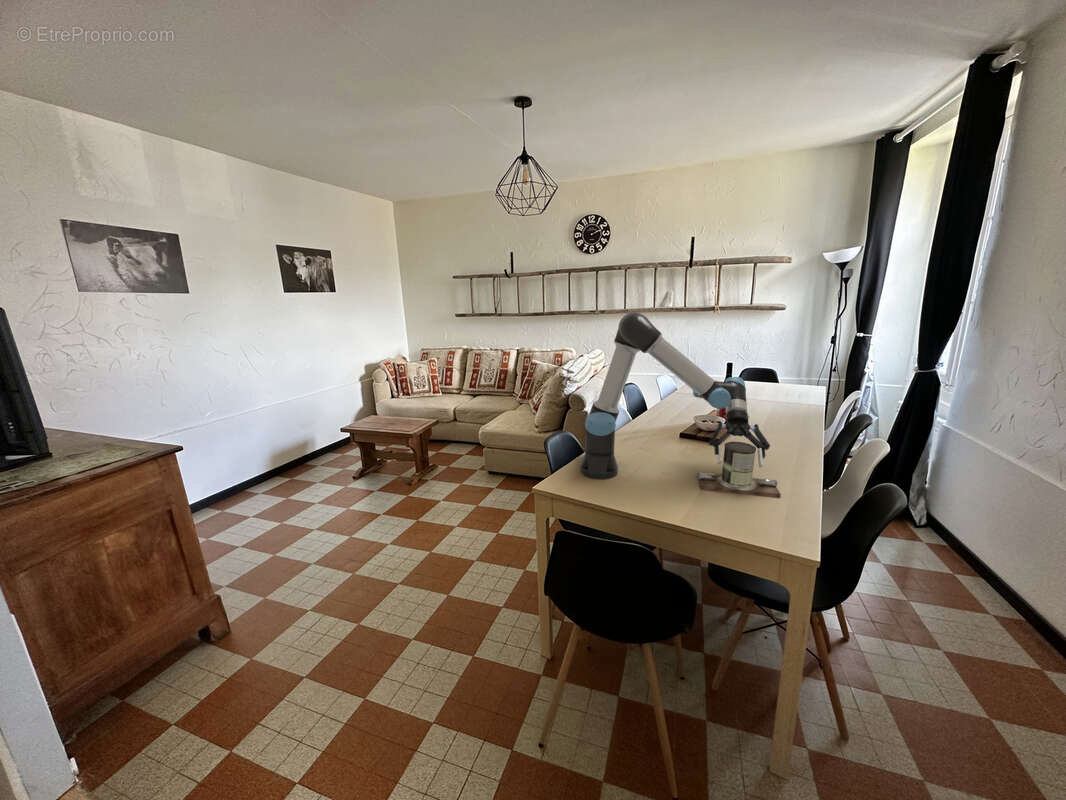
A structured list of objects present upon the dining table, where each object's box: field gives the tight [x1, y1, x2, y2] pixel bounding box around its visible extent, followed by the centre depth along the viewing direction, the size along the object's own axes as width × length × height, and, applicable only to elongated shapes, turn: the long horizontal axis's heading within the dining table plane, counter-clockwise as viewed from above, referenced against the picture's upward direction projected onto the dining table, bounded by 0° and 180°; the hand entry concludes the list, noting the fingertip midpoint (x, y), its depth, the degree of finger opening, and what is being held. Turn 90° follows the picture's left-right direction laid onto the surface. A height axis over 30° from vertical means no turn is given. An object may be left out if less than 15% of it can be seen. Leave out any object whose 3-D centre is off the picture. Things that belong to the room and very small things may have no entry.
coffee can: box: [721, 441, 757, 488], centre depth 150 cm, size 10×10×14 cm
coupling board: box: [696, 472, 781, 499], centre depth 152 cm, size 26×13×2 cm, turn 74°
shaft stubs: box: [698, 472, 778, 488], centre depth 152 cm, size 26×2×2 cm, turn 74°
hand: (740, 464), depth 148 cm, fingers open, 13 cm apart
